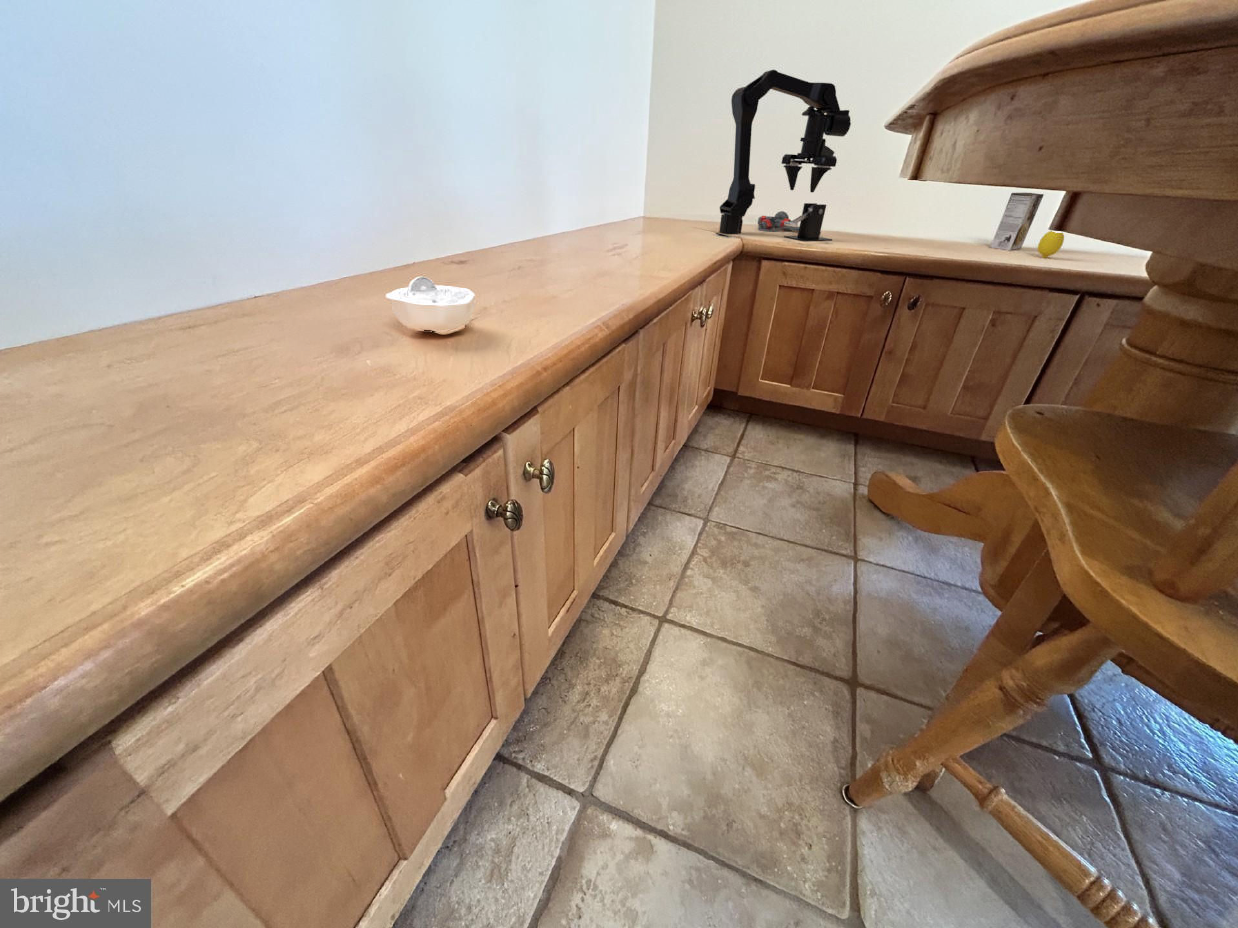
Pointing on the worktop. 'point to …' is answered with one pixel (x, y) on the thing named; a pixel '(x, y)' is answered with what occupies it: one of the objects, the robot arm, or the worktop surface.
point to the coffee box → (1016, 220)
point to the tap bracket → (811, 224)
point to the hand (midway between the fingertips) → (801, 191)
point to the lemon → (1050, 243)
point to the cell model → (432, 305)
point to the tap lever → (799, 218)
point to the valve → (775, 223)
